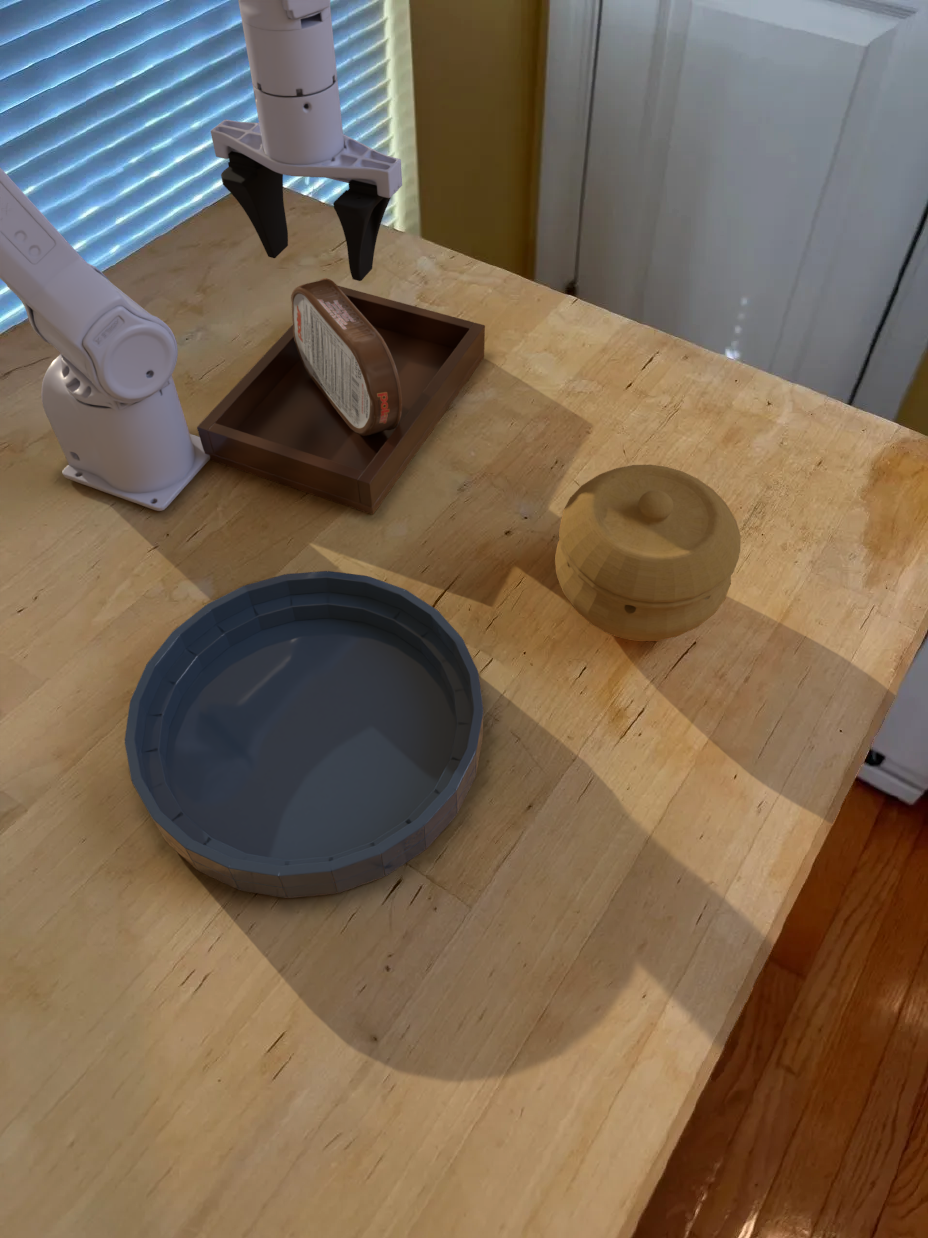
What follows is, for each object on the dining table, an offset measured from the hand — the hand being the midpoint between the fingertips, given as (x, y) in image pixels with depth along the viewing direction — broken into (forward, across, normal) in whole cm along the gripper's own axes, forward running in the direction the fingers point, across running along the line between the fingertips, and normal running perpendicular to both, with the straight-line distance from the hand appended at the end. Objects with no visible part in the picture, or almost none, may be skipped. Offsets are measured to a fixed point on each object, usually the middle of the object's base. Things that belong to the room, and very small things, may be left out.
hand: (319, 262), depth 74 cm
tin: (+9, -4, +5) cm, 11 cm away
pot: (+10, -32, +14) cm, 36 cm away
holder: (+10, -4, +4) cm, 11 cm away
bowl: (+10, -17, +33) cm, 38 cm away
